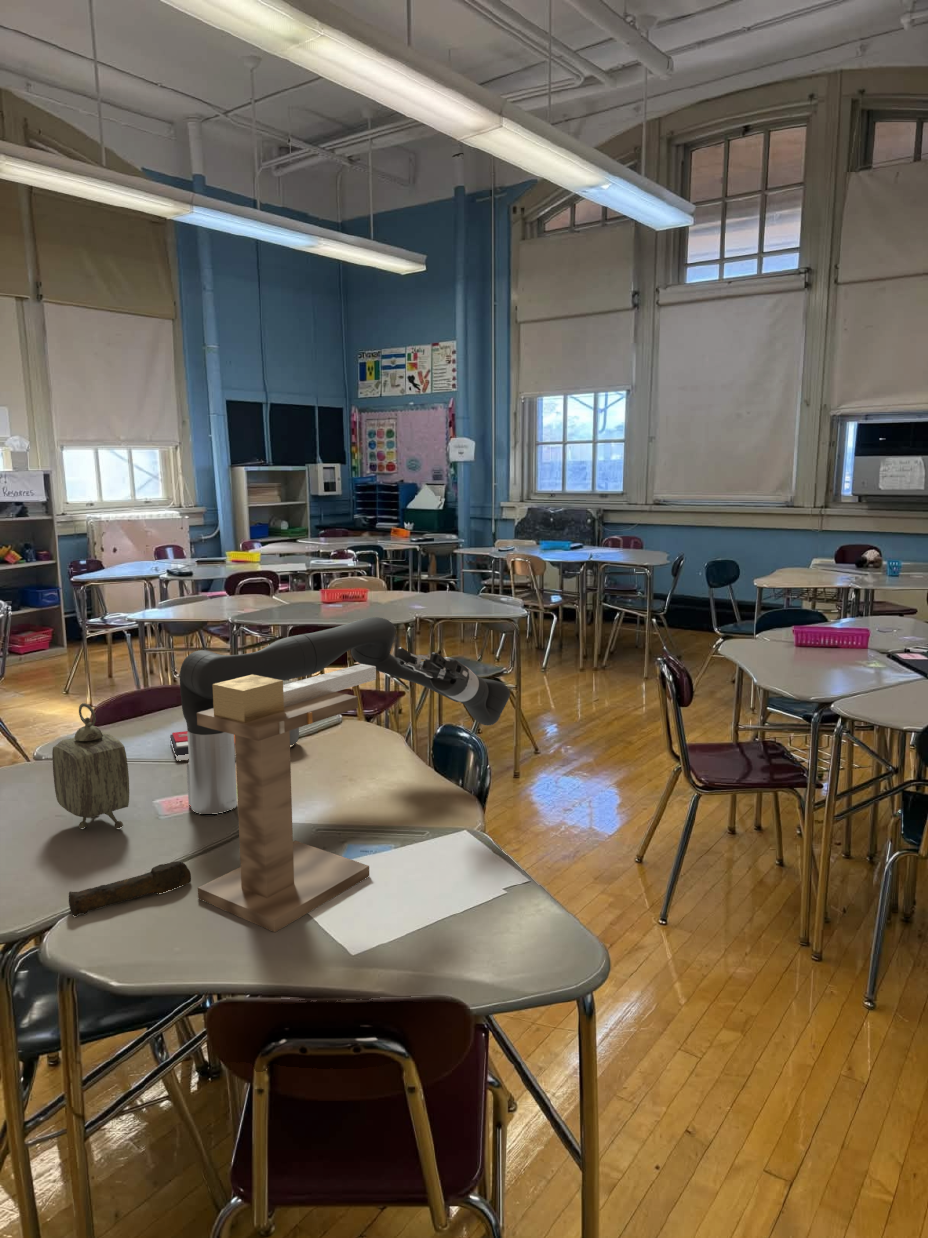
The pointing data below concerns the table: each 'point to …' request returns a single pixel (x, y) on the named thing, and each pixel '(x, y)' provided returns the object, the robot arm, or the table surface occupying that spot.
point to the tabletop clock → (91, 772)
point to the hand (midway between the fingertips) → (415, 654)
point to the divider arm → (280, 692)
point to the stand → (276, 824)
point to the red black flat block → (180, 742)
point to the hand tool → (130, 888)
